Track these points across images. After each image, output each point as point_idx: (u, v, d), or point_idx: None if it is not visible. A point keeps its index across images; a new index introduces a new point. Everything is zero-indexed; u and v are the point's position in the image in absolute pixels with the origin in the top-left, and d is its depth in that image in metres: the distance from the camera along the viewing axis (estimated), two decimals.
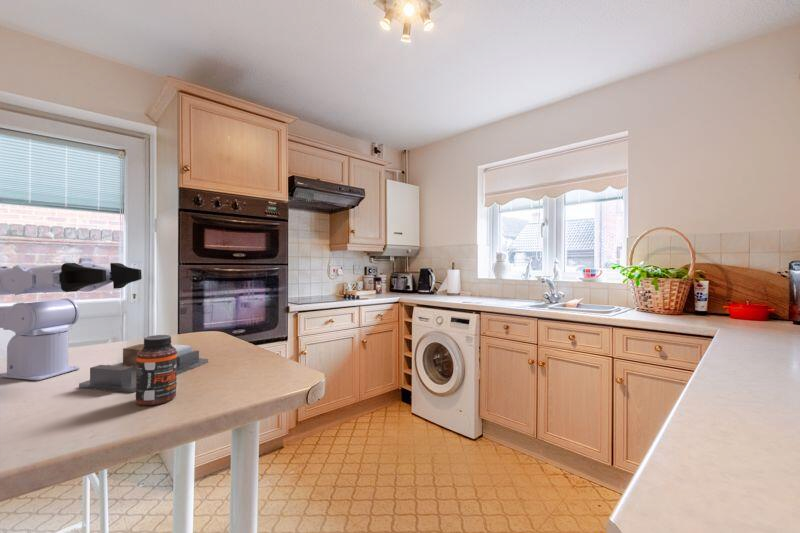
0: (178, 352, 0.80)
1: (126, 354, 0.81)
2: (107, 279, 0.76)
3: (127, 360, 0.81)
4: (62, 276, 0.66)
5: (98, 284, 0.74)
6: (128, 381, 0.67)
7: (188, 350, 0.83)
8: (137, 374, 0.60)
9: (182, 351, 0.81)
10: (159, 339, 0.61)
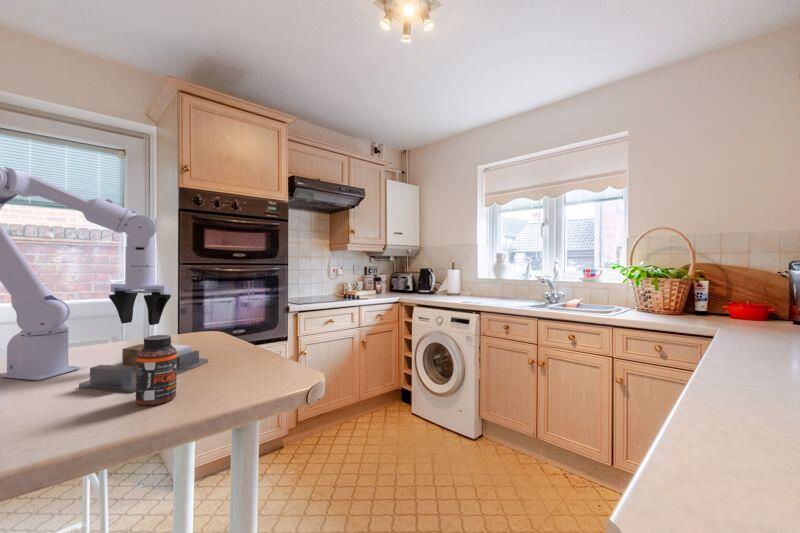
0: (178, 352, 0.80)
1: (126, 354, 0.81)
2: None
3: (127, 360, 0.81)
4: (163, 296, 0.82)
5: (126, 288, 0.82)
6: (128, 381, 0.67)
7: (188, 350, 0.83)
8: (137, 374, 0.60)
9: (182, 351, 0.81)
10: (159, 339, 0.61)
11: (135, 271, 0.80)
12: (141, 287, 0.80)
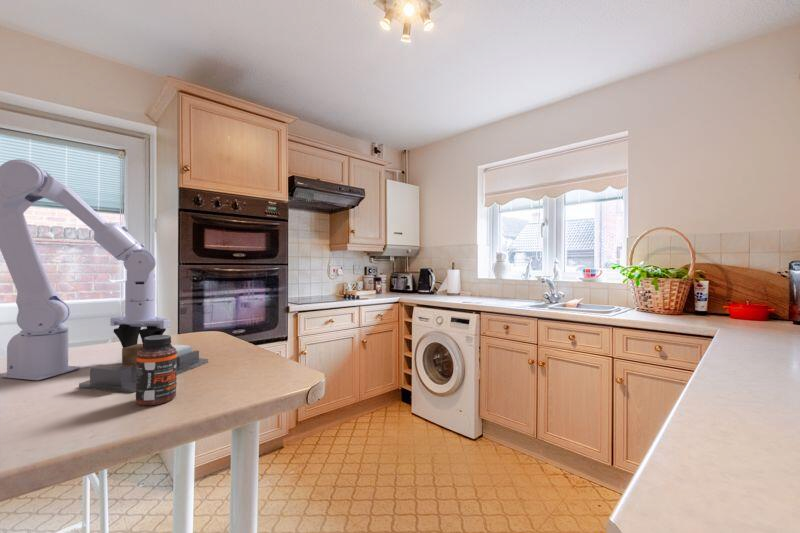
0: (178, 352, 0.80)
1: (125, 354, 0.81)
2: None
3: (126, 359, 0.81)
4: (158, 329, 0.83)
5: None
6: (128, 381, 0.67)
7: (188, 350, 0.83)
8: (137, 374, 0.60)
9: (182, 351, 0.81)
10: (159, 339, 0.61)
11: (135, 306, 0.80)
12: (141, 322, 0.80)
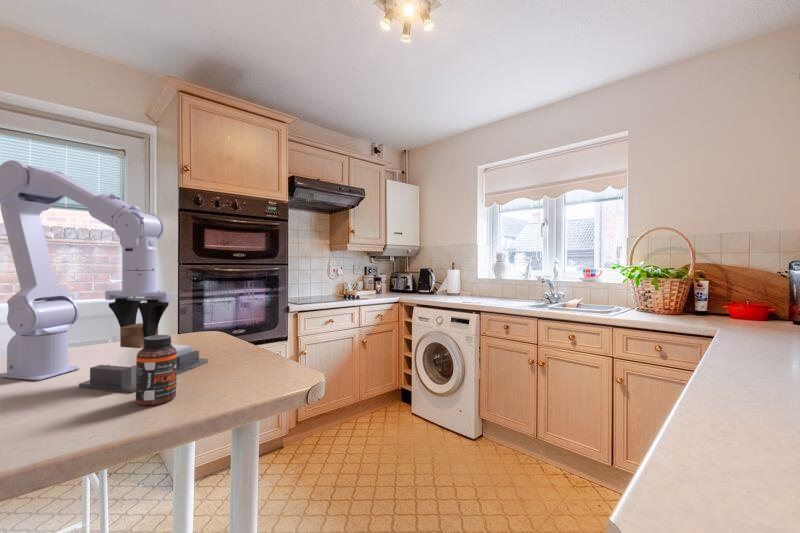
0: (178, 352, 0.80)
1: (124, 334, 0.71)
2: None
3: (126, 340, 0.71)
4: (160, 304, 0.72)
5: (123, 295, 0.71)
6: (128, 381, 0.67)
7: (188, 350, 0.83)
8: (137, 374, 0.60)
9: (182, 351, 0.81)
10: (159, 339, 0.61)
11: (133, 276, 0.70)
12: (140, 294, 0.70)
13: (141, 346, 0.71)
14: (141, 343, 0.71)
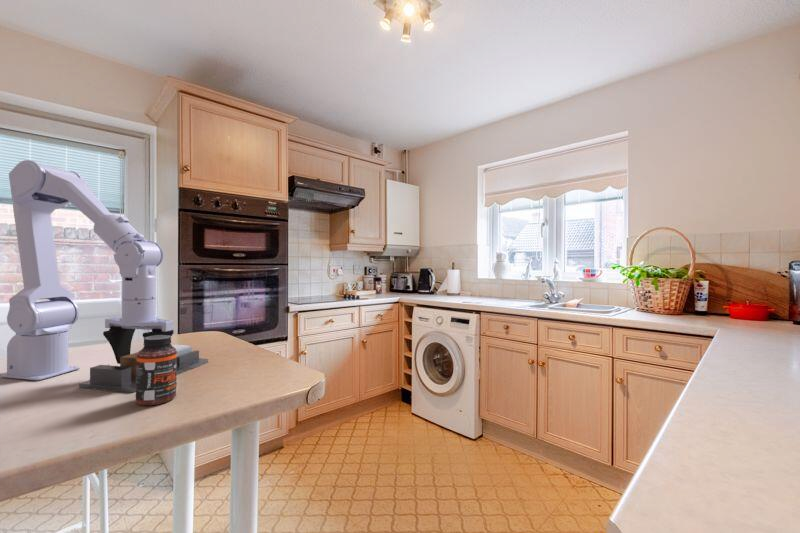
0: (178, 352, 0.80)
1: (124, 364, 0.71)
2: None
3: None
4: (165, 333, 0.72)
5: None
6: (128, 381, 0.67)
7: (188, 350, 0.83)
8: (137, 374, 0.60)
9: (182, 351, 0.81)
10: (159, 339, 0.61)
11: (133, 305, 0.70)
12: (140, 324, 0.70)
13: None
14: None
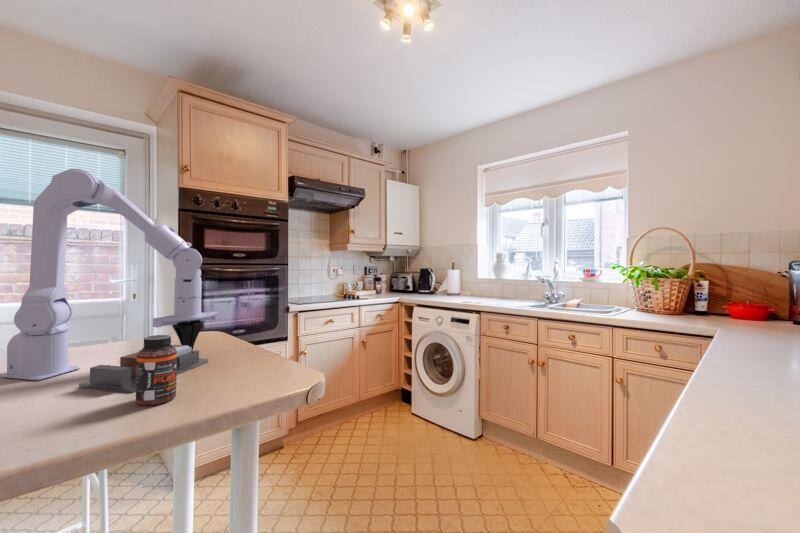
0: (178, 352, 0.80)
1: (124, 364, 0.71)
2: (171, 320, 0.82)
3: None
4: None
5: None
6: (128, 381, 0.67)
7: (188, 350, 0.83)
8: (137, 374, 0.60)
9: (182, 351, 0.81)
10: (159, 339, 0.61)
11: (198, 301, 0.86)
12: (203, 316, 0.87)
13: None
14: None
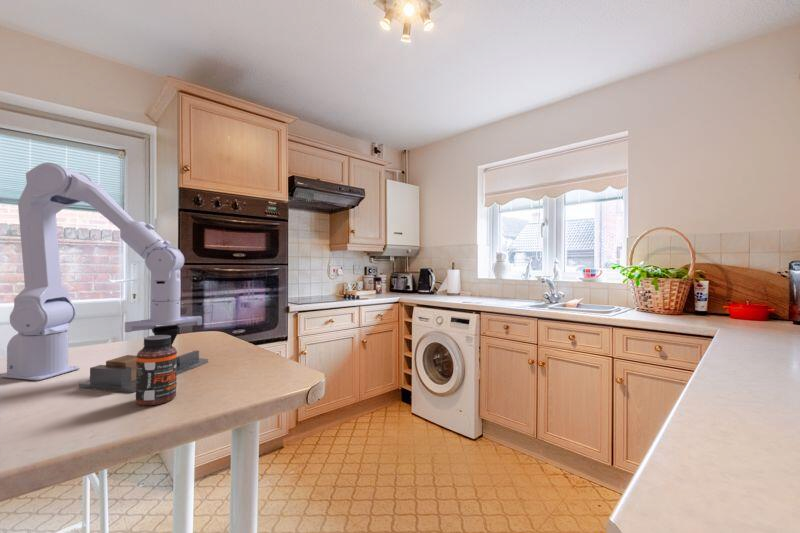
0: None
1: None
2: None
3: None
4: None
5: None
6: (128, 381, 0.67)
7: None
8: (137, 374, 0.60)
9: None
10: (159, 339, 0.61)
11: (174, 305, 0.78)
12: (180, 321, 0.80)
13: None
14: None
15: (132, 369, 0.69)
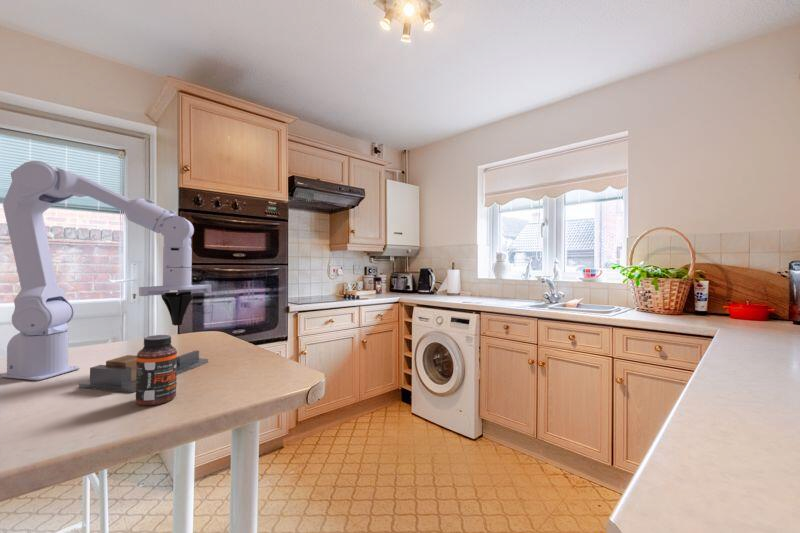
0: None
1: None
2: None
3: None
4: None
5: (169, 290, 0.80)
6: (128, 381, 0.67)
7: None
8: (137, 374, 0.60)
9: None
10: (159, 339, 0.61)
11: (187, 272, 0.82)
12: (193, 287, 0.83)
13: None
14: None
15: (132, 369, 0.69)
